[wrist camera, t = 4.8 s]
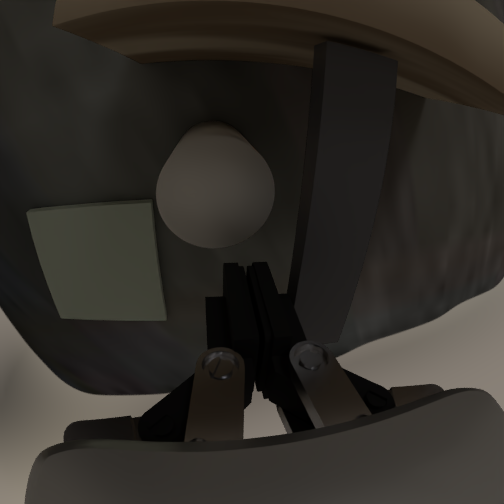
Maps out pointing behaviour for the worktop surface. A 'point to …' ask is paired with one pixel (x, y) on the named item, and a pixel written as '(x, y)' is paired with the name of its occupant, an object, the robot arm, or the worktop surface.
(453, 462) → the robot arm
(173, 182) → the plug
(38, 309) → the worktop surface
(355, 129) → the strap
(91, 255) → the mat
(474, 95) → the stand
